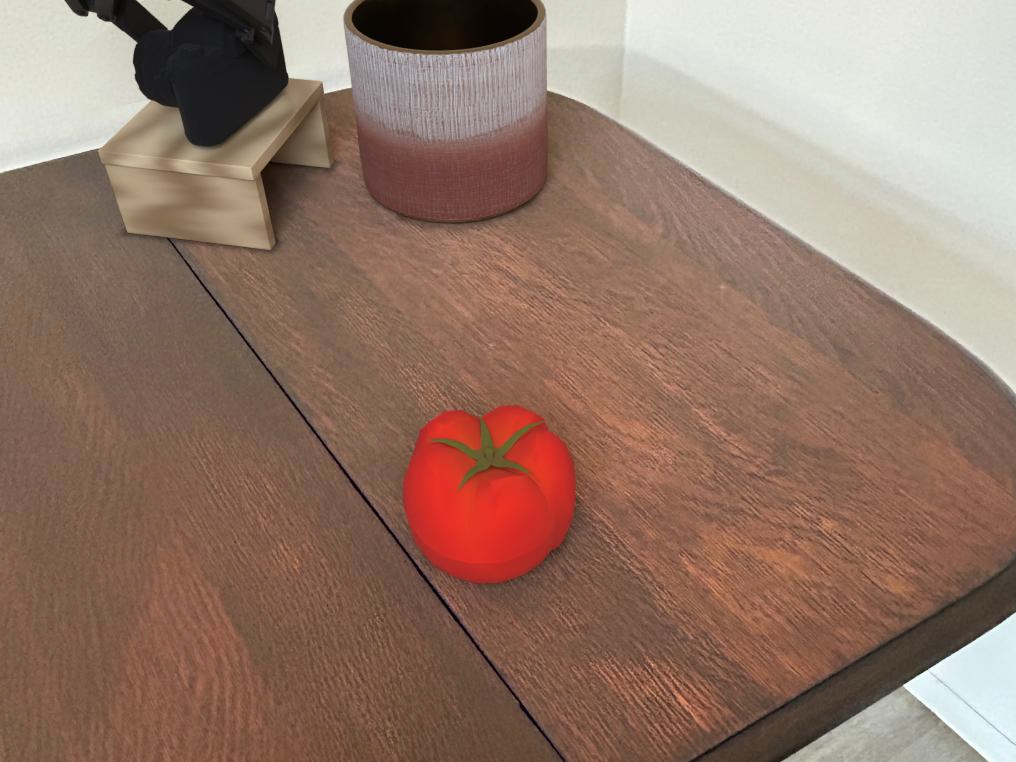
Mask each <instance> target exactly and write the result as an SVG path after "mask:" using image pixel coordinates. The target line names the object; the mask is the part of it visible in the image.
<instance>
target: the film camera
mask: <svg viewBox="0 0 1016 762" xmlns="http://www.w3.org/2000/svg"><path fill="white" fill-rule="evenodd" d="M279 23H280V22H279V18H278V15H277V12H276V9H275V10H274V18H273V26H274V32H275V33H276V34H277V35H278V37H279V38H280V45H279V53H278V60H277V68H276V70H273V69H268V68H267V67H266V66H265V65H264V64H263V63H262V62H261V61H260V60H259V59H258V58H257V57H256V56H255V55H254V54H253V53H252V52H251V51H250V50H249V49H248V48H247V47H246V46H245V45H244V44H243V43H242V42H241V41H240V40H239V39H238V38H237V37H236V36H235V32H236V29H235V28H233V27H231V26H229V25H228V24H226V23H224V22H222V21H220V20H218V19H216V18H214V17H212V16H210V15H208V14H206V13H204V12H202V11H201V10H199V9H197V8H195V7H193V6H192V7H191V8H189V10H188V11H187V12H186V13H185V14H184V15H183V16H181V17H180V19H179V20H178V21H177V22H176V23H175V24H174V26H173V27H172V29H168V30H165V29H160V30H157V31H150V30H149V31H148V32H146V33H144V34H143V35H142V36H141V37H140V39H139V41H138V43H137V42H136V43H135V46H134V49H133V55H132V65H133V67H134V81H135V82H136V84H137V87H138V89H139V91H140V93H141V94H142V95H143V96H144V97H145V98H146V99H147V100H148V101H151V100H152V101H155V102H157V103H159V104H161V105H163V106H168V107H176V108H179V111H180V115H181V119H182V123H183V127H184V131H185V136H186V137H187V139H188V141H189V142H190V143H191V144H193V145H197V146H213V145H217V144H220V143H222V142H223V141H224V140H226V139H227V138H228V137H229V136H231V135H232V134H233V133H235V132H236V131H237V130H238V129H239V128H240V127H242V126H243V125H244V124H245V123H246V122H247V121H249V120H250V119H251V118H252V117H253V116H255V115H256V114H257V113H258V112H259V111H260V110H262V109H263V108H264V107H265V106H266V105H267V104H269V103H270V102H271V101H272V100H273V99H274V98H275V97H276V96H277V95H278V94H279V93H280V92H281V91H282V90H283V89H284V88H285V87H286V86H287V85H288V81H289V78H290V77H289V72H288V70H287V63H286V57H285V53H284V52H285V51H284V47H283V46H284V45H283V39H282V35H281V30H280V27H279Z"/></svg>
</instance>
